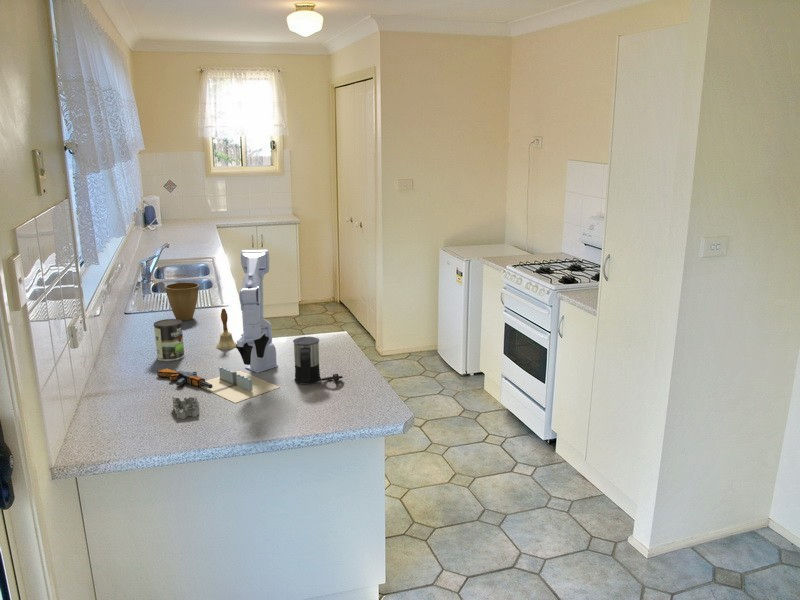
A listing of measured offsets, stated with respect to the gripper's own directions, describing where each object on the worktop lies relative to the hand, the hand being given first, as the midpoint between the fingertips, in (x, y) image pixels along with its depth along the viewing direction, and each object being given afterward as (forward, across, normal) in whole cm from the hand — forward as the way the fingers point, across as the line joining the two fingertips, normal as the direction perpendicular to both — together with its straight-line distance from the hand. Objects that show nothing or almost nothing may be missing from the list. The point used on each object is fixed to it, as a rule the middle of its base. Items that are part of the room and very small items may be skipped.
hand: (253, 360), depth 224 cm
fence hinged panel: (+9, +3, -3) cm, 10 cm away
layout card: (+9, +2, -6) cm, 11 cm away
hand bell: (+10, -32, -37) cm, 50 cm away
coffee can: (+10, -13, -48) cm, 51 cm away
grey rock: (+10, +26, -8) cm, 29 cm away
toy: (+10, +6, -24) cm, 27 cm away
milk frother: (+10, -13, +17) cm, 24 cm away
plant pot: (+10, -58, -80) cm, 100 cm away
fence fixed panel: (+9, 0, -12) cm, 15 cm away
